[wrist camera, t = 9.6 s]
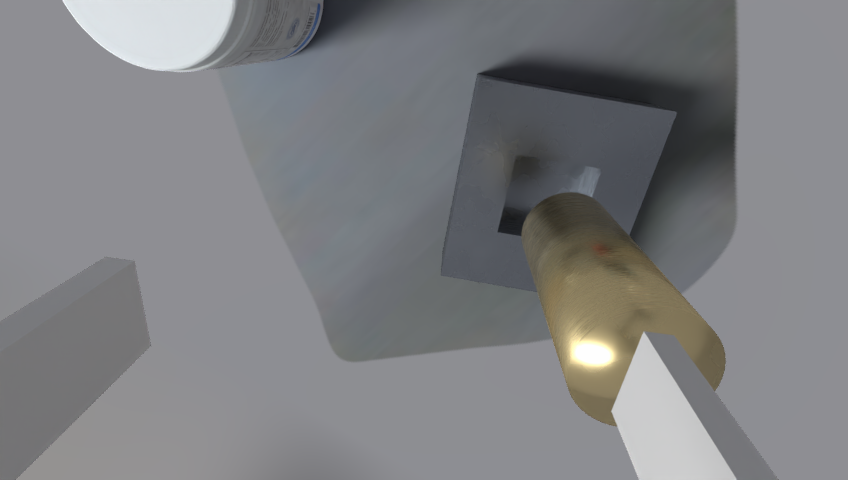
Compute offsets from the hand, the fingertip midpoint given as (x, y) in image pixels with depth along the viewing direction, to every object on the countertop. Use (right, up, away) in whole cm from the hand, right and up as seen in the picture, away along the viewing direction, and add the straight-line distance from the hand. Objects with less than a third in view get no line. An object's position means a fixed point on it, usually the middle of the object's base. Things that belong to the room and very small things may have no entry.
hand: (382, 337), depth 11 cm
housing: (+11, +7, +26) cm, 29 cm away
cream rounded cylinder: (+10, +3, +17) cm, 20 cm away
